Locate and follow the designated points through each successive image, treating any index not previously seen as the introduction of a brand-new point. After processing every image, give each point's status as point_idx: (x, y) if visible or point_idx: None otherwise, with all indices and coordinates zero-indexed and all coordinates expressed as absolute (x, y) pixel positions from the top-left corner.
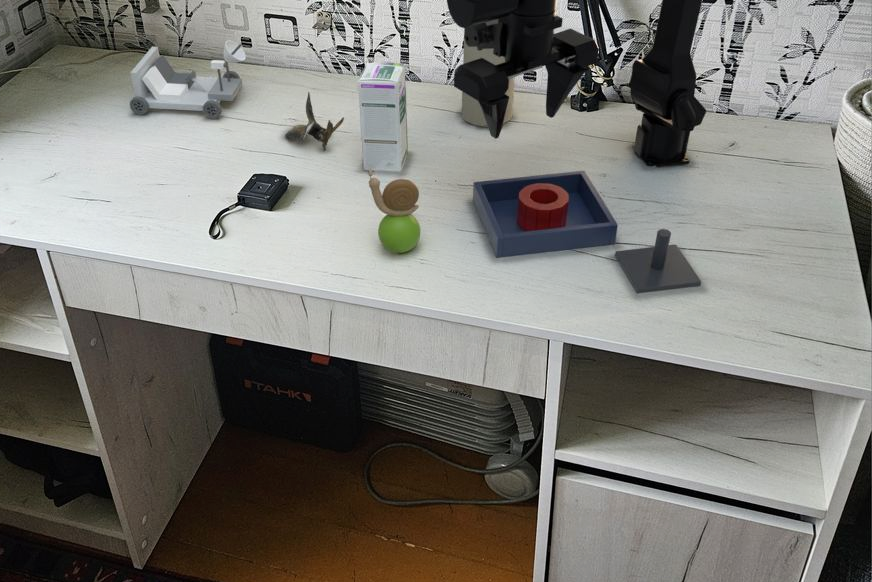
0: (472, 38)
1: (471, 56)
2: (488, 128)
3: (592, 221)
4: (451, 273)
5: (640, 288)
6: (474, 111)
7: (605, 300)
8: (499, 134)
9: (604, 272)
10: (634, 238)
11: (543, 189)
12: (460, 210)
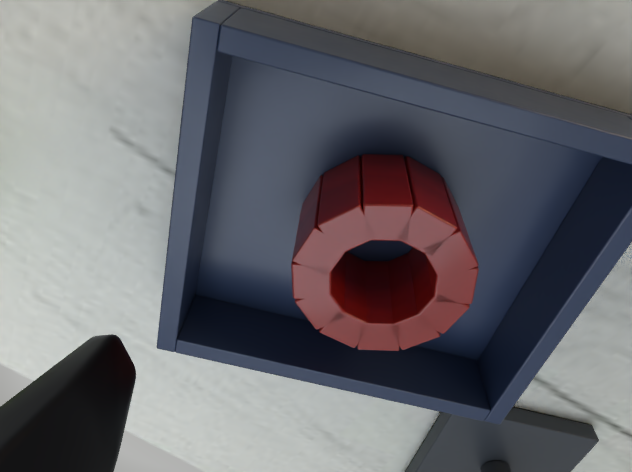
0: None
1: None
2: (44, 375)
3: (514, 285)
4: (52, 292)
5: None
6: None
7: (339, 464)
8: (127, 410)
9: (395, 415)
10: (555, 363)
11: (412, 246)
12: (157, 24)
